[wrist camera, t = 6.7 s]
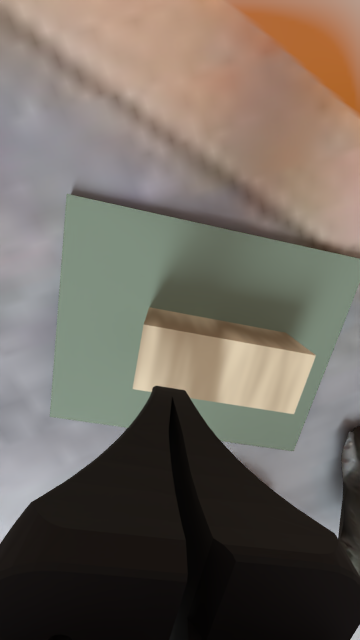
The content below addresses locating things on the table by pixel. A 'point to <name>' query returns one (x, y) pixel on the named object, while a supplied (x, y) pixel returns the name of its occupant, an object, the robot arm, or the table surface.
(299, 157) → the table surface
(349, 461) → the lucky cat figurine
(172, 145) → the table surface
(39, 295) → the table surface
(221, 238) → the rubber mat
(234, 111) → the table surface
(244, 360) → the birch block
